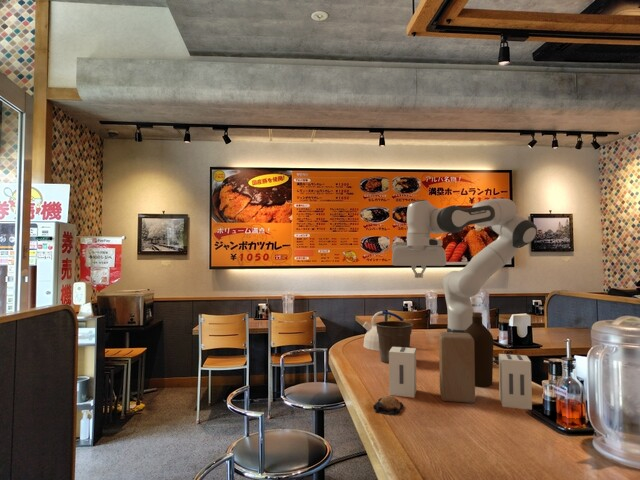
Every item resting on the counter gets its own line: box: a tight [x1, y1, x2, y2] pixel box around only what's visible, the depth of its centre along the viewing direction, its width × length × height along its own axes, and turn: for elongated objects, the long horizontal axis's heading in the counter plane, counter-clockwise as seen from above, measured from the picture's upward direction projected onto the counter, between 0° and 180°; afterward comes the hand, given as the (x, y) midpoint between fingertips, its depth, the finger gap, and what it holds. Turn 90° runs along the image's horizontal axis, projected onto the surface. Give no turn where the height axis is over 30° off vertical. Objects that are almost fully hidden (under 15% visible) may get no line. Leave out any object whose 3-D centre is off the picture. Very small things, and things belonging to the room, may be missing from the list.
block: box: [438, 331, 476, 404], centre depth 132 cm, size 10×10×20 cm
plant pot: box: [375, 320, 414, 364], centre depth 179 cm, size 16×16×16 cm
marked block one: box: [388, 347, 417, 398], centre depth 137 cm, size 8×8×14 cm
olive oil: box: [464, 311, 495, 388], centre depth 148 cm, size 11×11×25 cm
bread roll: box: [372, 395, 404, 416], centre depth 122 cm, size 11×8×4 cm
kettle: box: [362, 310, 404, 352], centre depth 208 cm, size 20×21×18 cm
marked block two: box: [498, 353, 533, 411], centre depth 126 cm, size 8×8×14 cm
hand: (418, 277), depth 157 cm, fingers closed
